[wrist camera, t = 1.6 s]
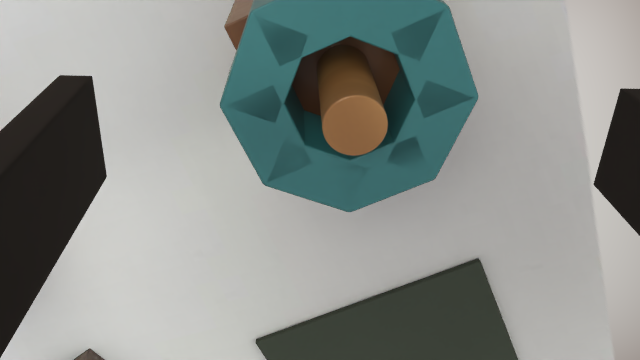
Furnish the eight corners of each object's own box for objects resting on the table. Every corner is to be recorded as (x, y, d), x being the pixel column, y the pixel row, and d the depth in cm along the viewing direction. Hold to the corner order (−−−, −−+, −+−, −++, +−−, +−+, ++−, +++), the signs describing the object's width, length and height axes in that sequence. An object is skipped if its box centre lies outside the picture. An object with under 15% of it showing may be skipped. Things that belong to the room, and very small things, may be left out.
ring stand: (371, -75, 33) (423, -26, 20) (419, 55, 37) (491, 174, 23) (240, -13, 35) (203, 73, 21) (298, 107, 38) (300, 248, 24)
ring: (405, -80, 25) (424, -69, 21) (473, 118, 29) (498, 155, 26) (198, 17, 26) (183, 42, 23) (291, 192, 31) (291, 236, 27)
